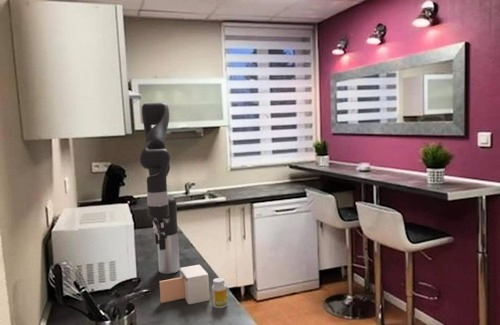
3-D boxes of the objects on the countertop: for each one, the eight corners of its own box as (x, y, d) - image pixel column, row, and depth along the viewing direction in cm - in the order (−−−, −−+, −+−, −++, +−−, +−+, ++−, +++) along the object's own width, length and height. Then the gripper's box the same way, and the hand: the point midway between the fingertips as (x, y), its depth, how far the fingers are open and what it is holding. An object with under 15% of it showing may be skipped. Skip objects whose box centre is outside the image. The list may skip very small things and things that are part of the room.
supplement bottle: (209, 305, 154) (207, 280, 153) (220, 300, 157) (218, 275, 156) (219, 310, 150) (218, 283, 149) (230, 304, 154) (229, 279, 153)
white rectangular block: (180, 292, 166) (178, 268, 165) (200, 288, 170) (199, 264, 168) (187, 304, 155) (186, 278, 154) (209, 300, 158) (208, 274, 157)
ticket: (160, 301, 158) (159, 281, 157) (197, 294, 163) (196, 274, 162) (161, 302, 157) (159, 281, 156) (197, 295, 162) (196, 275, 162)
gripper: (144, 201, 161) (147, 243, 162) (150, 207, 148) (153, 253, 149) (164, 199, 164) (167, 240, 165) (172, 205, 151) (174, 250, 152)
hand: (160, 246), depth 157 cm, fingers open, 8 cm apart
